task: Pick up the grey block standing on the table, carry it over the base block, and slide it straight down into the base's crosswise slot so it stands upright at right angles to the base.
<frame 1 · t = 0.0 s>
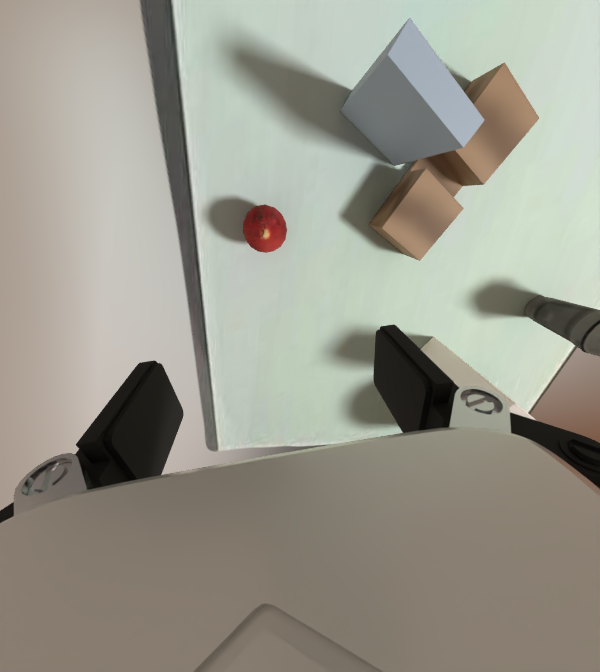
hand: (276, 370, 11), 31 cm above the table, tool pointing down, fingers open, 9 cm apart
beverage cup: (534, 306, 50), on the table
red pomegranate: (265, 226, 37), on the table
milk: (430, 353, 52), on the table
slotted base: (432, 179, 36), on the table
grey block: (374, 130, 33), on the table
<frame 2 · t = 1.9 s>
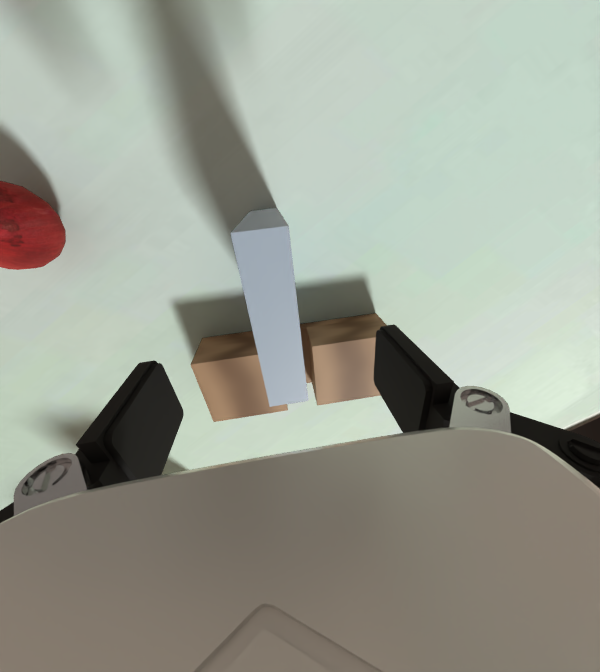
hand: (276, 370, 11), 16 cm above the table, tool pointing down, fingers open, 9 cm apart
red pomegranate: (49, 221, 21), on the table
slotted base: (294, 354, 30), on the table
grey block: (272, 265, 25), on the table
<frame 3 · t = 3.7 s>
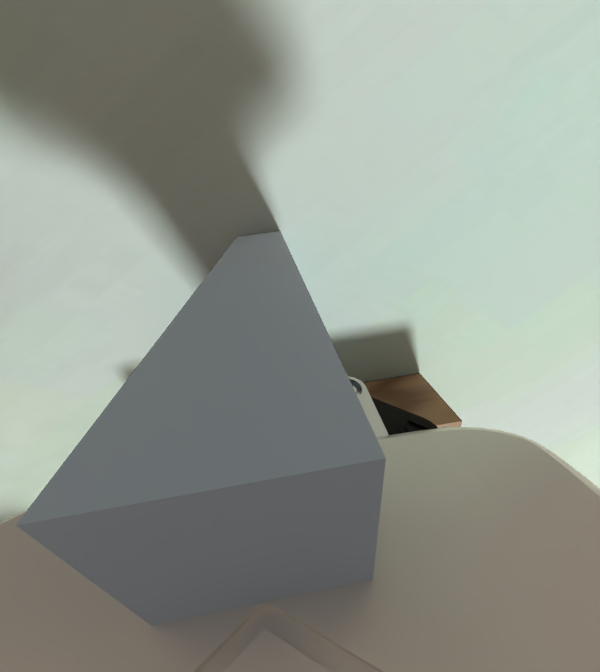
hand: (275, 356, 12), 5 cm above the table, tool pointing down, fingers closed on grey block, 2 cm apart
slotted base: (303, 427, 22), on the table
grey block: (272, 315, 16), on the table, touching gripper
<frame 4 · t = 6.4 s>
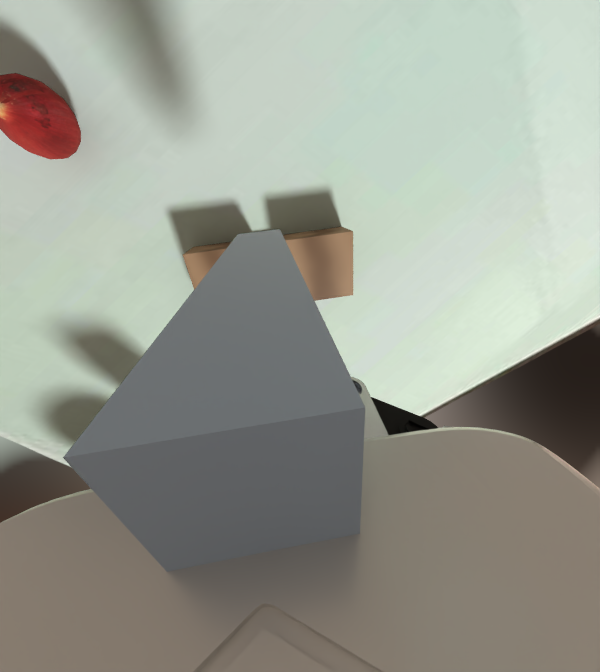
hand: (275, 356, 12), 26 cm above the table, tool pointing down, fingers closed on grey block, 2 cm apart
red pomegranate: (67, 129, 26), on the table
slotted base: (273, 266, 35), on the table
grey block: (272, 311, 17), point 20 cm above the table, touching gripper
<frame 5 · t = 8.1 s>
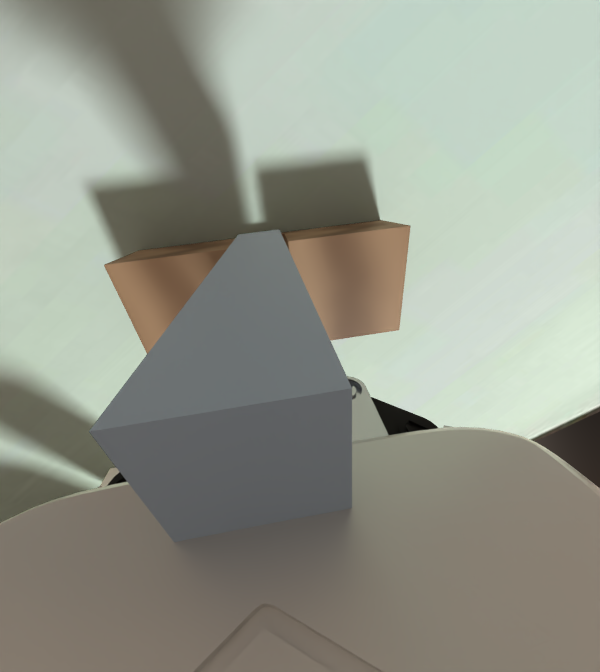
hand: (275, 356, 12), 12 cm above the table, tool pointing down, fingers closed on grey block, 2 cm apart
slotted base: (270, 281, 22), on the table
grey block: (272, 310, 17), point 6 cm above the table, touching gripper
when the fingers open (7 cm above the table, at t = 9.4 s): grey block stays where it is, resting on slotted base.
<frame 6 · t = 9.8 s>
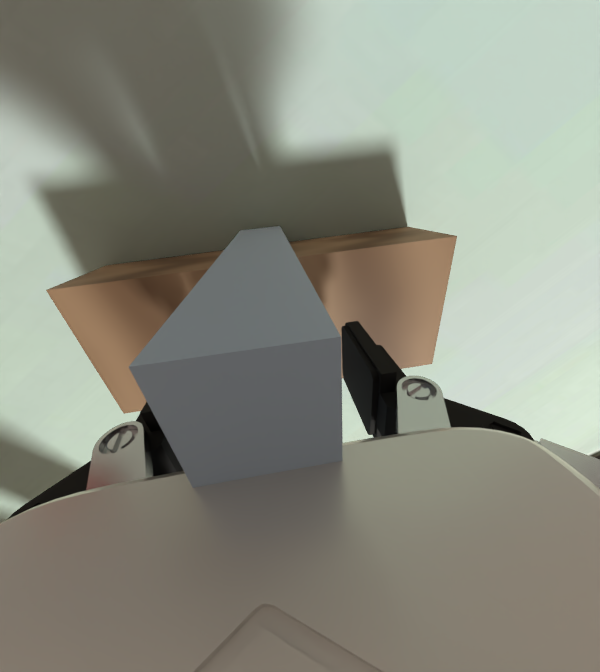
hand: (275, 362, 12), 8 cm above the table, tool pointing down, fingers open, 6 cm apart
slotted base: (271, 301, 18), on the table
grey block: (272, 305, 17), point 1 cm above the table, touching slotted base
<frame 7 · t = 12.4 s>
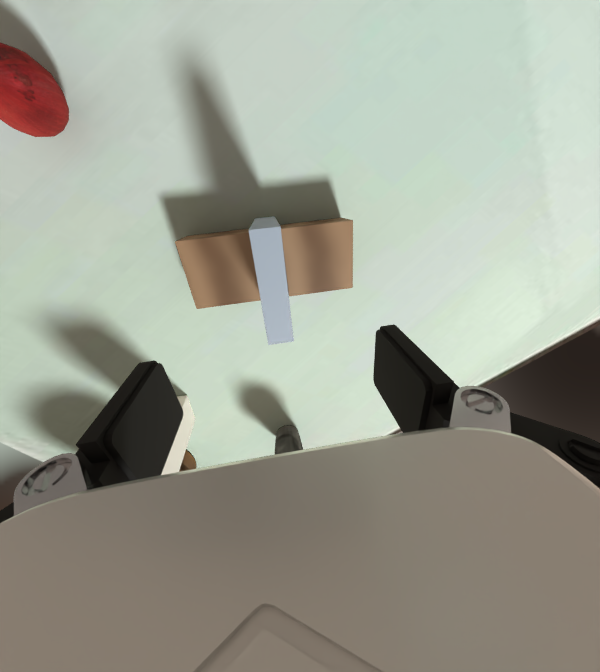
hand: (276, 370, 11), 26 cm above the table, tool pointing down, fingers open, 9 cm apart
beverage cup: (287, 432, 51), on the table
red pomegranate: (55, 108, 25), on the table
milk: (175, 408, 45), on the table
slotted base: (270, 258, 34), on the table
grey block: (270, 258, 33), point 1 cm above the table, touching slotted base
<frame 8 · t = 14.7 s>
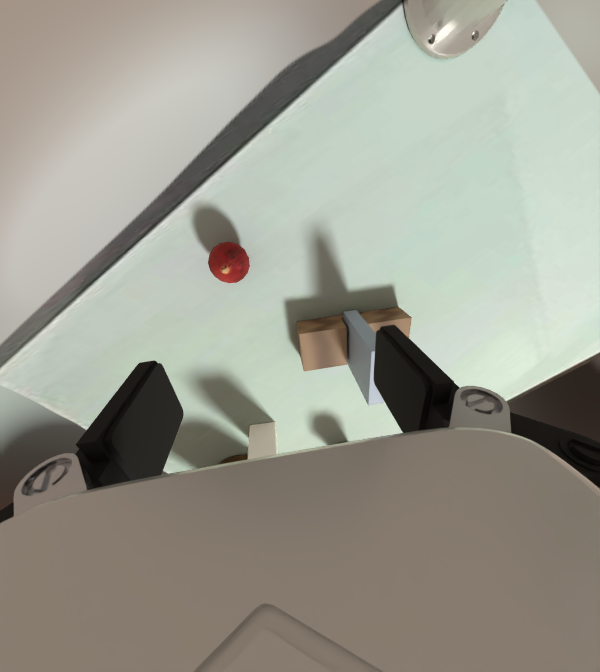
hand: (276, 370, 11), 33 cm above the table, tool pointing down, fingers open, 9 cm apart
red pomegranate: (232, 257, 40), on the table
milk: (263, 431, 60), on the table
slotted base: (348, 332, 50), on the table
grey block: (349, 334, 49), point 1 cm above the table, touching slotted base
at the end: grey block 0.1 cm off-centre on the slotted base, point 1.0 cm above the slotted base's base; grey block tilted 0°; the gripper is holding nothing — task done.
